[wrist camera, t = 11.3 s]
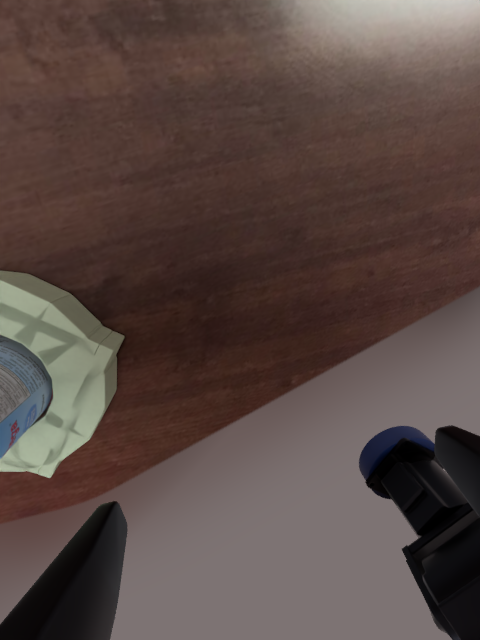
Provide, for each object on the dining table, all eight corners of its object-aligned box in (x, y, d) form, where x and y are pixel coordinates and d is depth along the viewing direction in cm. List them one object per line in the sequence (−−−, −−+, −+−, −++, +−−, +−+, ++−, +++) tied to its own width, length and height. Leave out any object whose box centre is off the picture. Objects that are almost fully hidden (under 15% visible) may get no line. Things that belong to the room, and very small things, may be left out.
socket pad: (148, 329, 19) (139, 343, 17) (76, 466, 22) (61, 495, 20) (-67, 228, 16) (-115, 227, 14) (-118, 404, 19) (-165, 429, 16)
